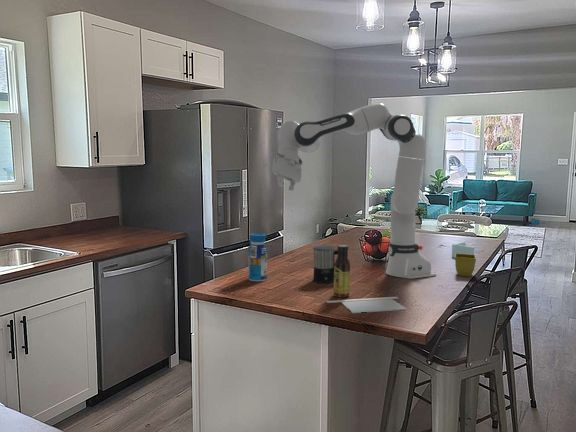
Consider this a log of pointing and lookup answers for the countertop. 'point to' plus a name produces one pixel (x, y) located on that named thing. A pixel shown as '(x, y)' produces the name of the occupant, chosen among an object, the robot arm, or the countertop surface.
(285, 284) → the countertop surface
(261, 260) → the beverage bottle
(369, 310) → the mat
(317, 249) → the milk frother
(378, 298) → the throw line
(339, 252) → the sauce bottle
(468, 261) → the flower pot
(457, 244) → the right angle wall
